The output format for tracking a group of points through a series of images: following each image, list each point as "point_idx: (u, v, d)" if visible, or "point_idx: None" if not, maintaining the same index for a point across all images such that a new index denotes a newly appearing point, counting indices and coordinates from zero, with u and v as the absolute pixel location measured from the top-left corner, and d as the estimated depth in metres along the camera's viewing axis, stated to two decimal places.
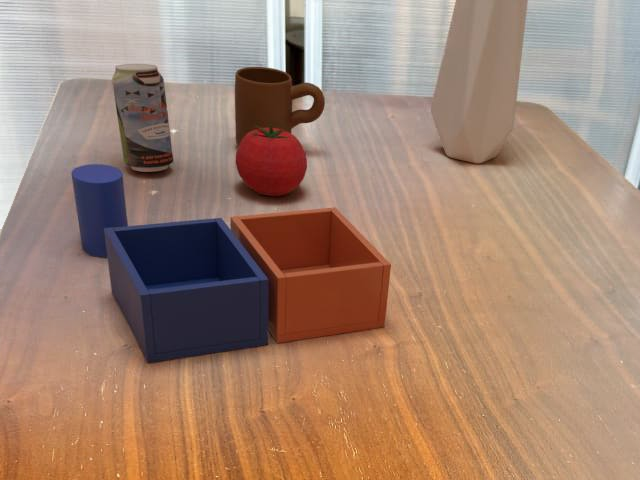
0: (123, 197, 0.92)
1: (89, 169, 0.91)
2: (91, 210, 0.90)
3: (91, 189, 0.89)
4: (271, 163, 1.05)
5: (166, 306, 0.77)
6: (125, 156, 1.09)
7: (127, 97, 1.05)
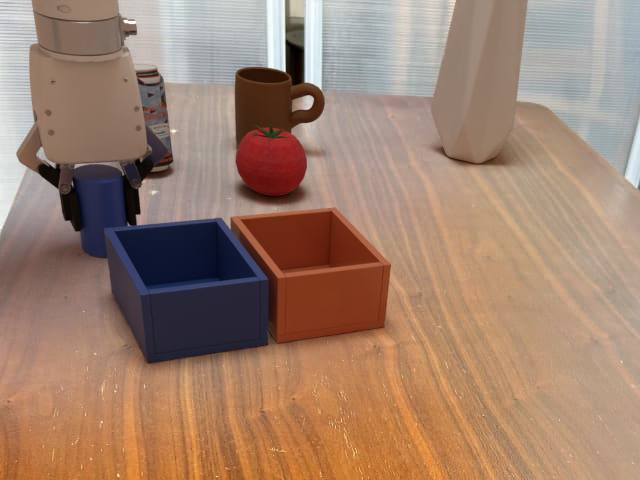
0: (123, 197, 0.92)
1: (89, 169, 0.91)
2: (91, 210, 0.90)
3: (91, 189, 0.89)
4: (271, 163, 1.05)
5: (166, 306, 0.77)
6: None
7: None
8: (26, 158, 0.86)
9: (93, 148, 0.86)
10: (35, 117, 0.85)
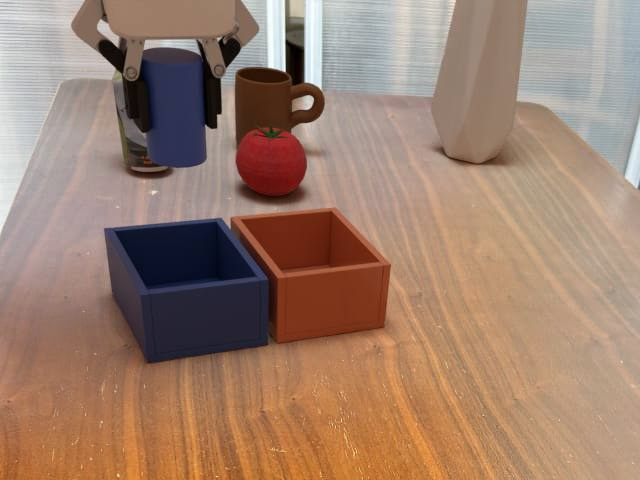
0: (202, 89, 0.73)
1: (160, 52, 0.72)
2: (164, 103, 0.71)
3: (164, 74, 0.70)
4: (271, 163, 1.05)
5: (166, 306, 0.77)
6: (125, 156, 1.09)
7: None
8: (84, 30, 0.67)
9: (170, 18, 0.67)
10: None
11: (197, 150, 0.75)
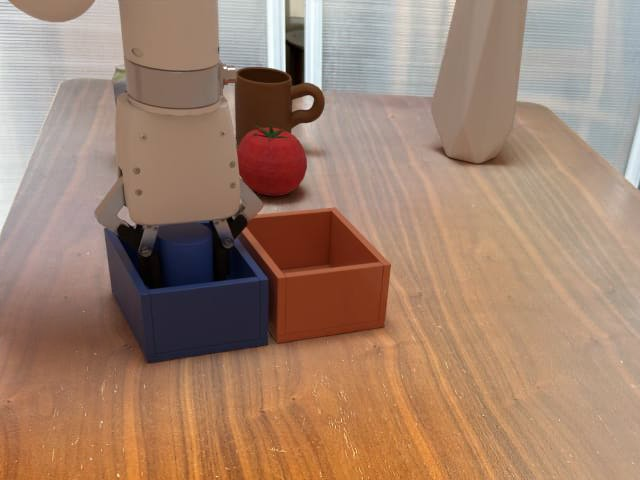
0: (212, 258, 0.82)
1: (175, 228, 0.81)
2: (178, 274, 0.81)
3: (179, 251, 0.79)
4: (271, 163, 1.05)
5: (166, 306, 0.77)
6: None
7: None
8: (105, 218, 0.76)
9: (183, 208, 0.77)
10: (119, 174, 0.76)
11: None
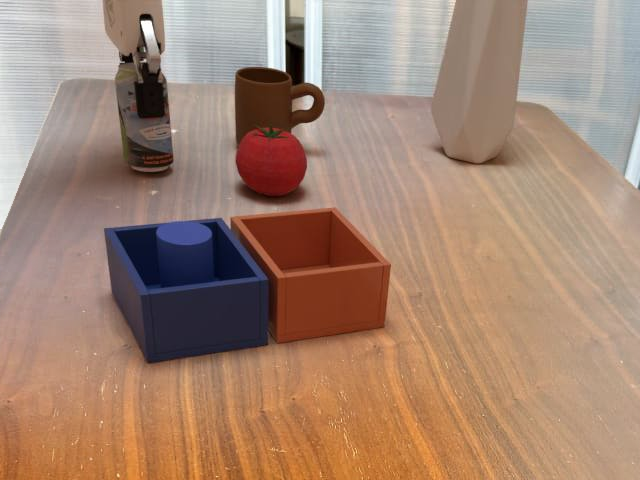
0: (212, 258, 0.82)
1: (175, 228, 0.81)
2: (178, 274, 0.81)
3: (179, 251, 0.79)
4: (271, 163, 1.05)
5: (166, 306, 0.77)
6: (125, 155, 1.09)
7: (129, 97, 1.04)
8: None
9: None
10: (139, 22, 0.98)
11: None
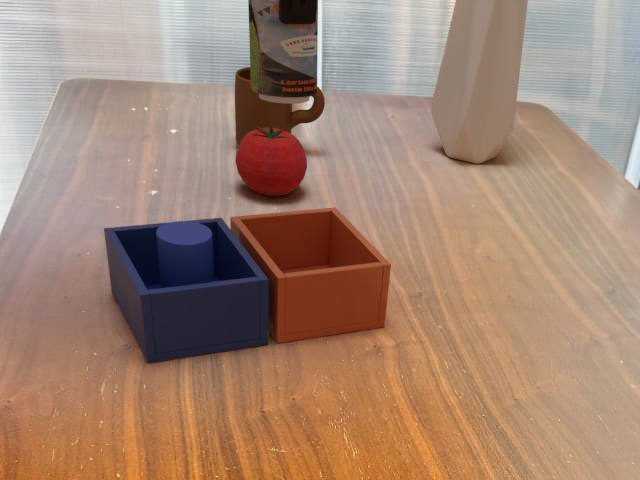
0: (212, 258, 0.82)
1: (175, 228, 0.81)
2: (178, 274, 0.81)
3: (179, 251, 0.79)
4: (271, 163, 1.05)
5: (166, 306, 0.77)
6: (255, 80, 0.79)
7: None
8: None
9: None
10: None
11: None
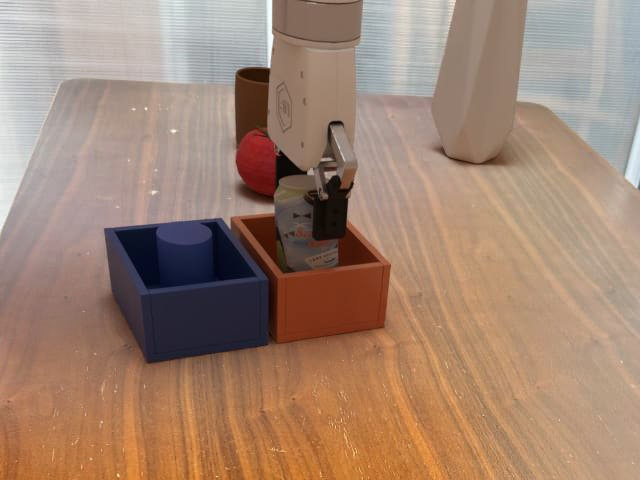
0: (212, 258, 0.82)
1: (175, 228, 0.81)
2: (178, 274, 0.81)
3: (179, 251, 0.79)
4: (271, 163, 1.05)
5: (166, 306, 0.77)
6: None
7: (295, 220, 0.83)
8: None
9: None
10: (327, 131, 0.76)
11: None
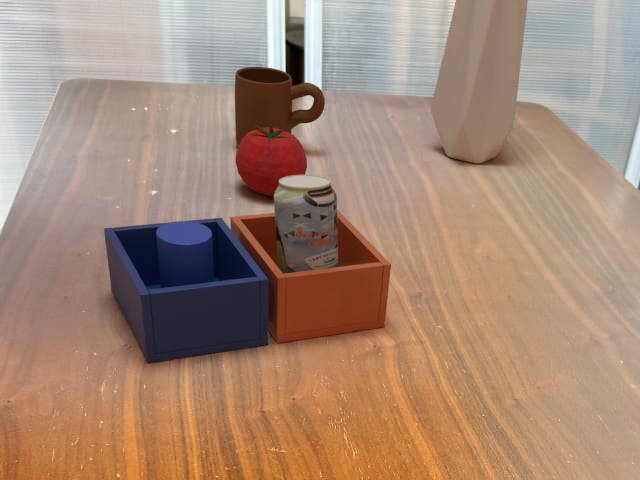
0: (212, 258, 0.82)
1: (175, 228, 0.81)
2: (178, 274, 0.81)
3: (179, 251, 0.79)
4: (271, 163, 1.05)
5: (166, 306, 0.77)
6: None
7: (294, 220, 0.83)
8: None
9: None
10: None
11: None
